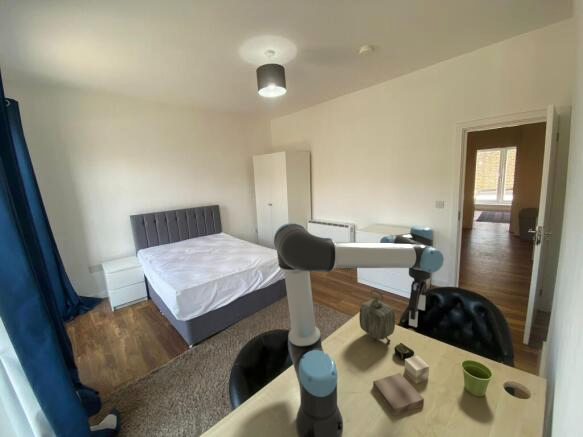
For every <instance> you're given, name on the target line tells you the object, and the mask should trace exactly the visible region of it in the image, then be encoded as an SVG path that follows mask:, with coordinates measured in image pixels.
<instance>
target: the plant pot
mask: <svg viewBox="0 0 583 437" xmlns="http://www.w3.org/2000/svg"><path fill="white" fill-rule="evenodd" d="M460 367H461V369H462V373H463V382H464V383H463V384H464V388H465V390H466V391H468V393H470V394H471V395H473V396H475V397H483V396H485V395H486V392H487V388H488V386H489V383H490V382H491V380H492V379H493V378H494V373H493V371H492V370H491V368H490V367H488V366H487V365H485V364H484V363H482V362H480V361H477V360H474V359H464V360H462V361H461V363H460Z"/></svg>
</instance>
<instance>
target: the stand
mask: <svg viewBox="0 0 583 437" xmlns="http://www.w3.org/2000/svg"><path fill="white" fill-rule="evenodd" d="M372 383H373V384H372V386H373V387H372V388H374V390H375V392H376V393H377V394H378V396H379V397H380V398H381V399H382V401H383V403H384V404H385V405H386V406H387V408H388V409H389V411H390V412H391V413H392V414H393V415H394V417H395V416H397V415H400V414H403V413H405V412H409V411H410V410H413V409H416V408H420V407H421V406H424V405H425V399H424V397H423V396H422V395H421V394H420V393H419V392H418V391H417V390H416V388H414V386H413V385H412V384H411V383H410V382H409V381H408V380H407V378H405V377H404V376H403V374H402V373H401V372H398V373H395V374H391V375H389V376H388V375H387V376H385V377H383V378H379V379H376V380H373V382H372Z"/></svg>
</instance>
